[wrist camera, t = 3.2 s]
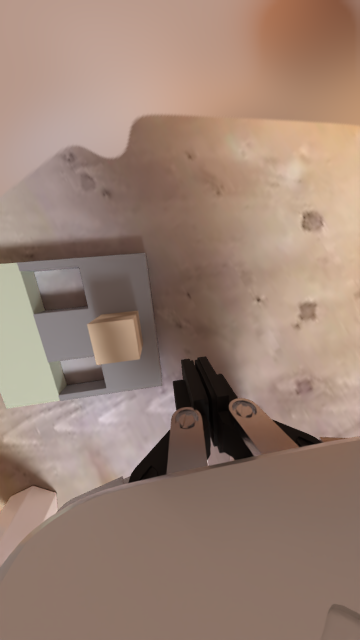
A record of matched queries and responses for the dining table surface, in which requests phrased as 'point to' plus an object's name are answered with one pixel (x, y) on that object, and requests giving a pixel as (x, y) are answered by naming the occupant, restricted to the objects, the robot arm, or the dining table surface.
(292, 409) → the dining table surface
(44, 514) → the jar
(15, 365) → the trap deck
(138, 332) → the birch block
